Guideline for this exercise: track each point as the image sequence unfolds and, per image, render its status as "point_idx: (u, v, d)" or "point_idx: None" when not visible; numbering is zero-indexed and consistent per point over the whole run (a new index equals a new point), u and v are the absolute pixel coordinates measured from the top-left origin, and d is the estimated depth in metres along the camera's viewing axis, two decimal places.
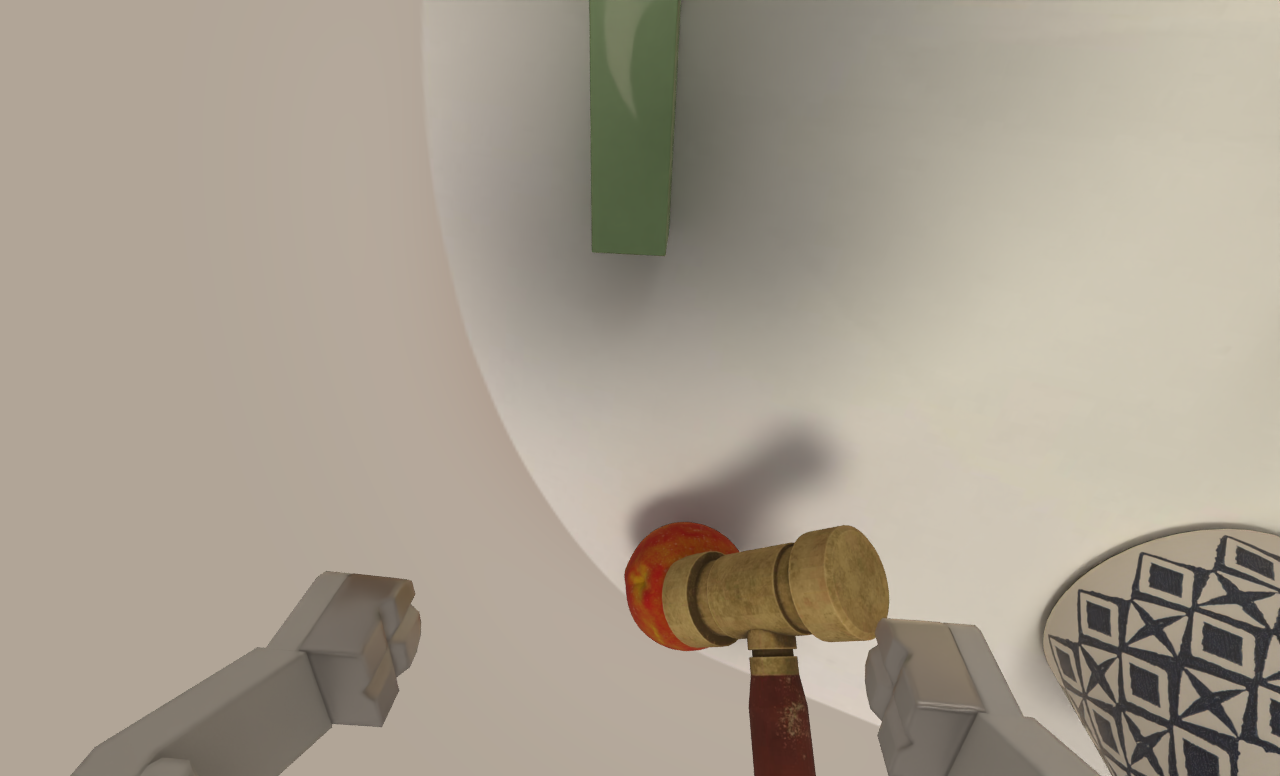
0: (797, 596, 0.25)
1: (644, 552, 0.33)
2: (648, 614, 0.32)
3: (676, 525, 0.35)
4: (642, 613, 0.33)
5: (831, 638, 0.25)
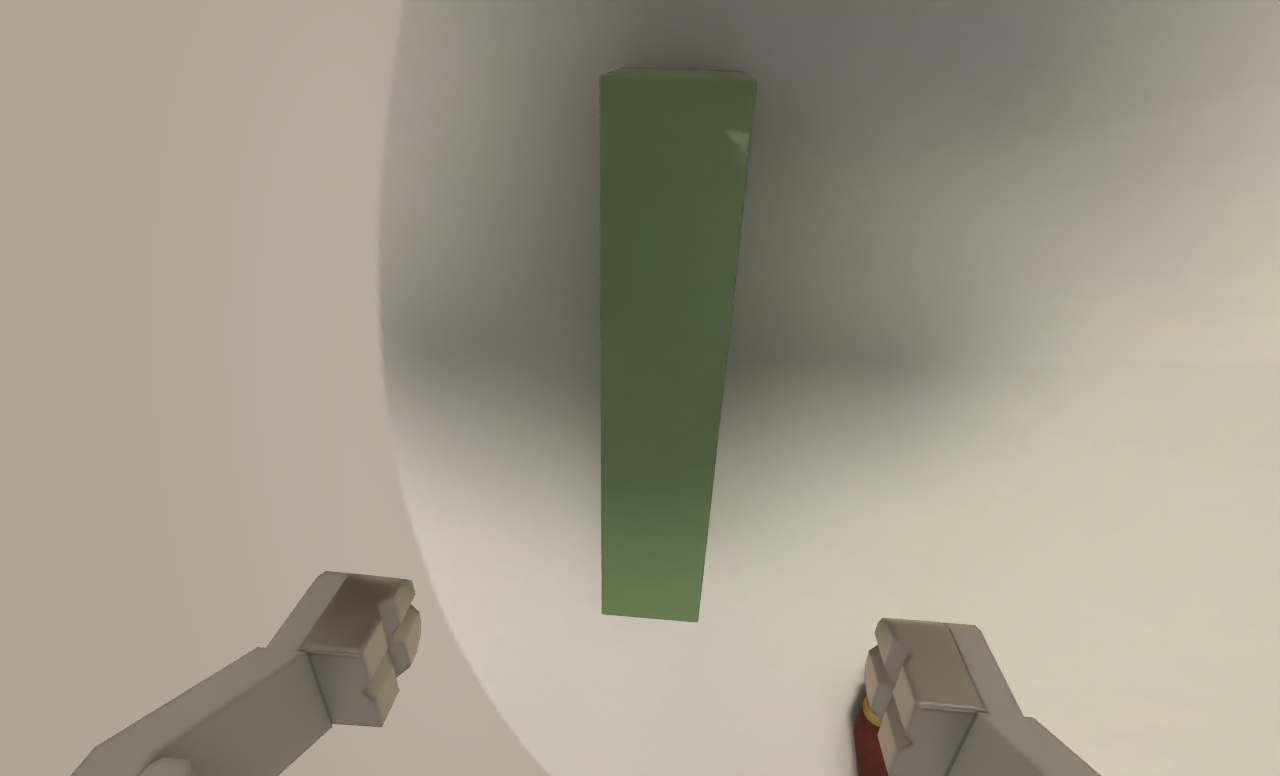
0: None
1: None
2: None
3: None
4: None
5: None
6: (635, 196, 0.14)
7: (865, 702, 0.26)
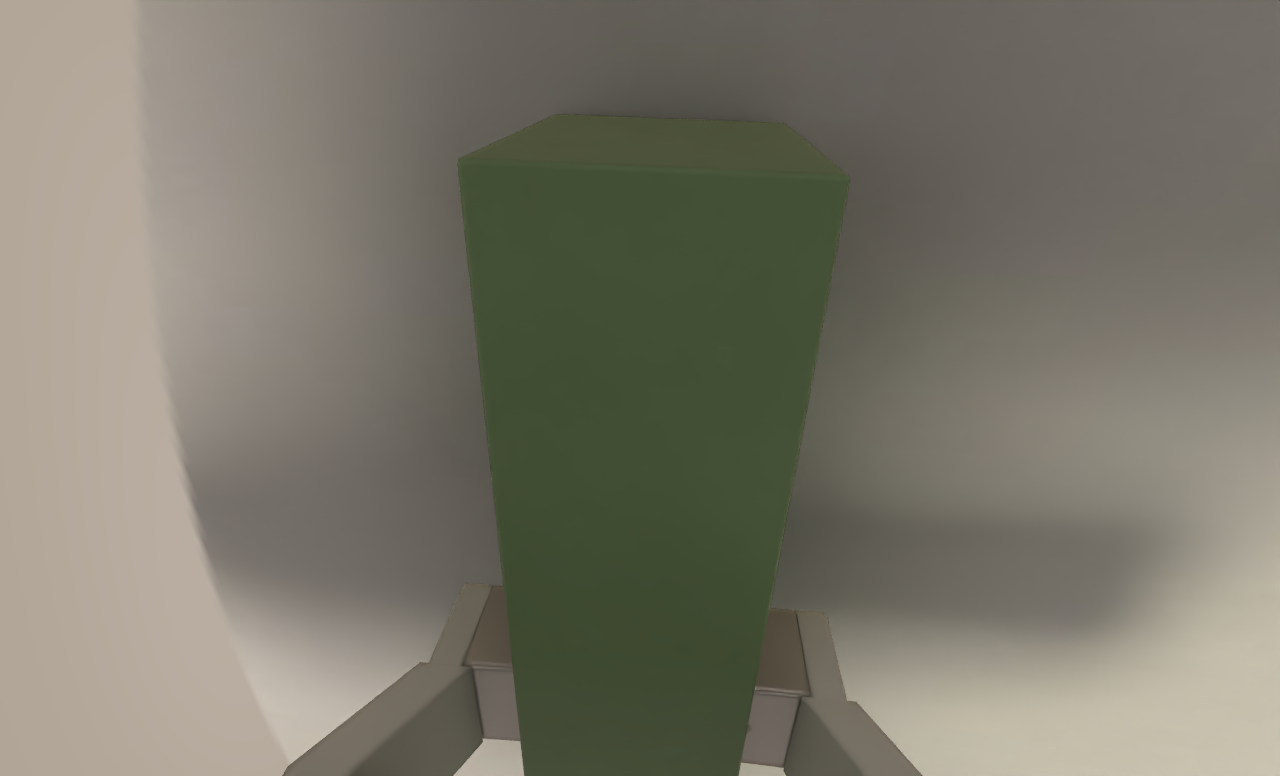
0: None
1: None
2: None
3: None
4: None
5: None
6: (560, 413, 0.06)
7: None
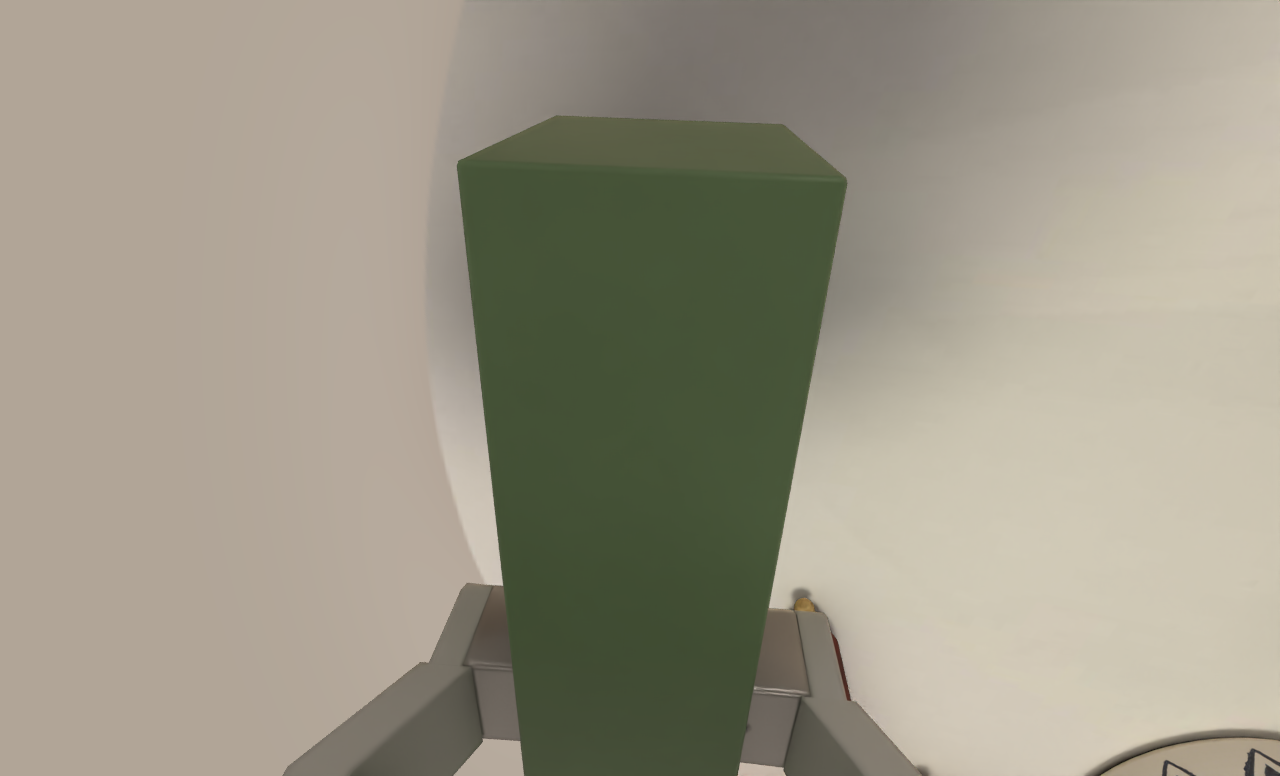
0: None
1: None
2: None
3: None
4: None
5: None
6: (559, 413, 0.06)
7: None
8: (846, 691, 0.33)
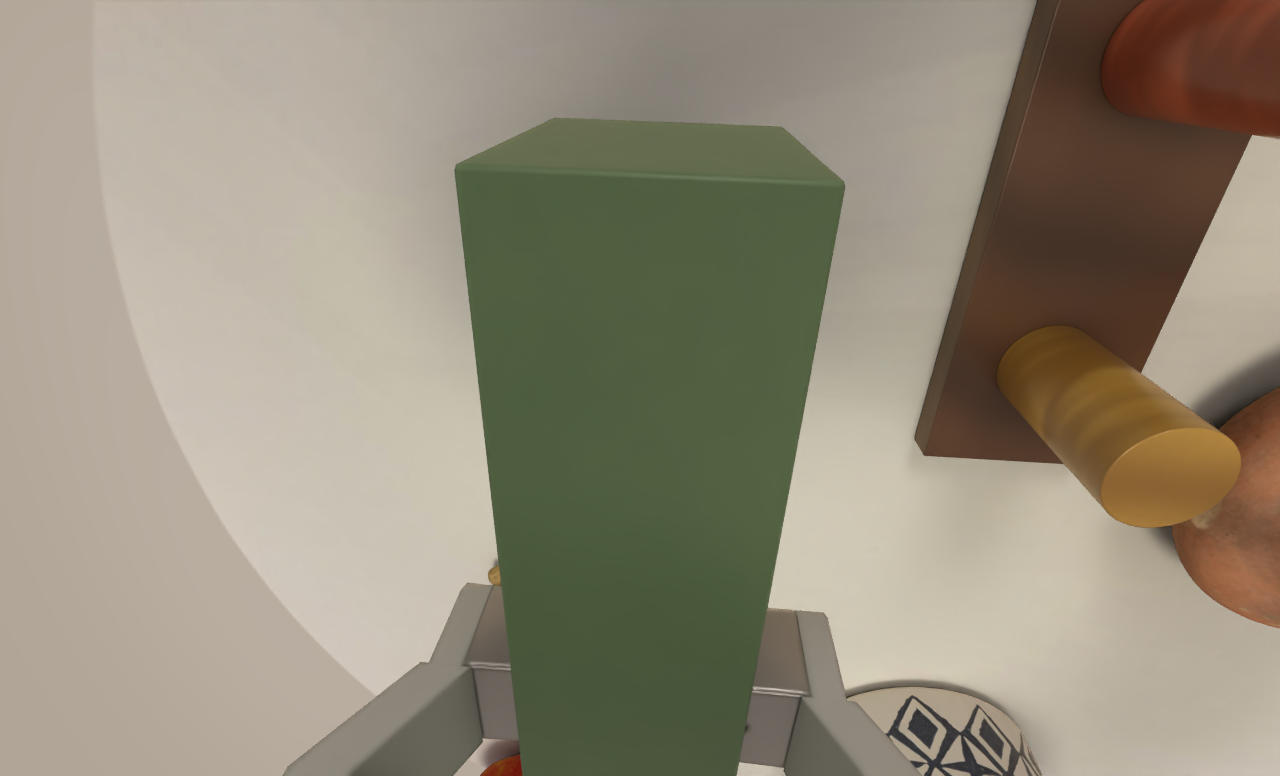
0: None
1: None
2: None
3: None
4: None
5: None
6: (557, 416, 0.06)
7: None
8: None
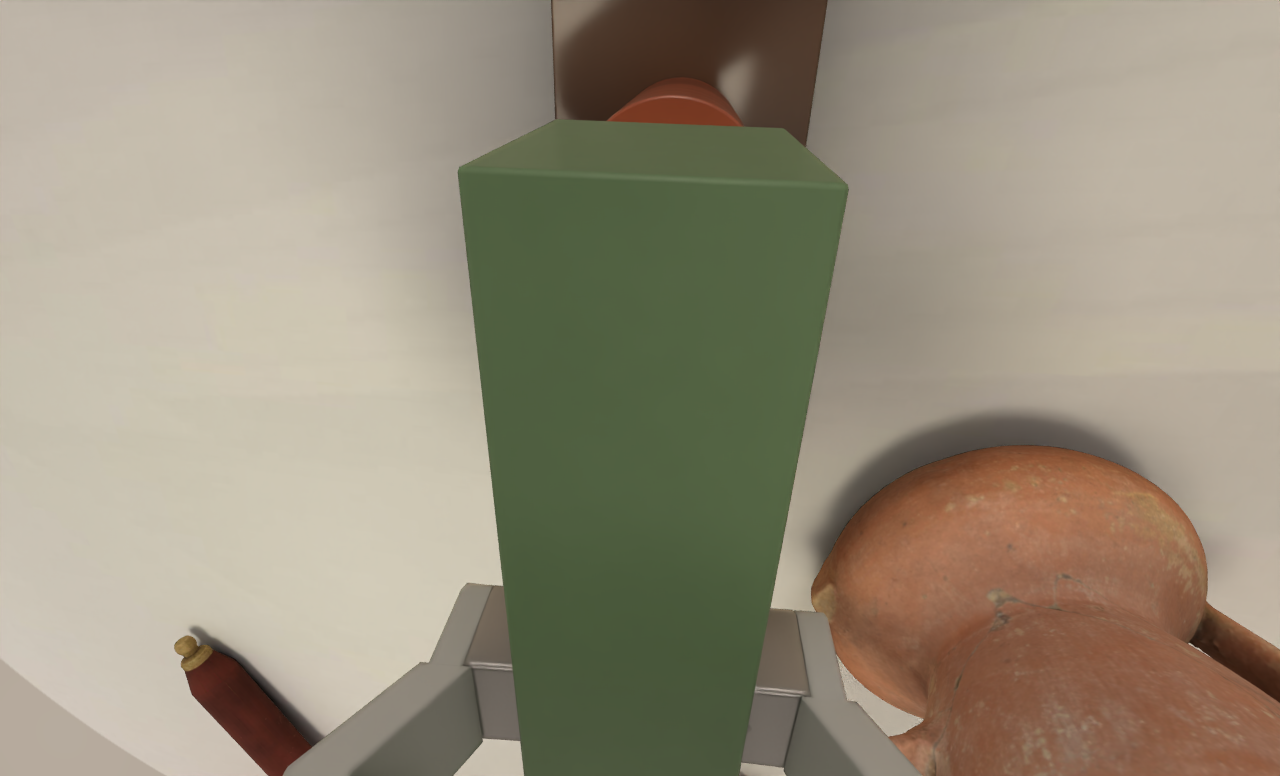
0: None
1: None
2: None
3: None
4: None
5: None
6: (559, 419, 0.06)
7: None
8: (252, 714, 0.37)
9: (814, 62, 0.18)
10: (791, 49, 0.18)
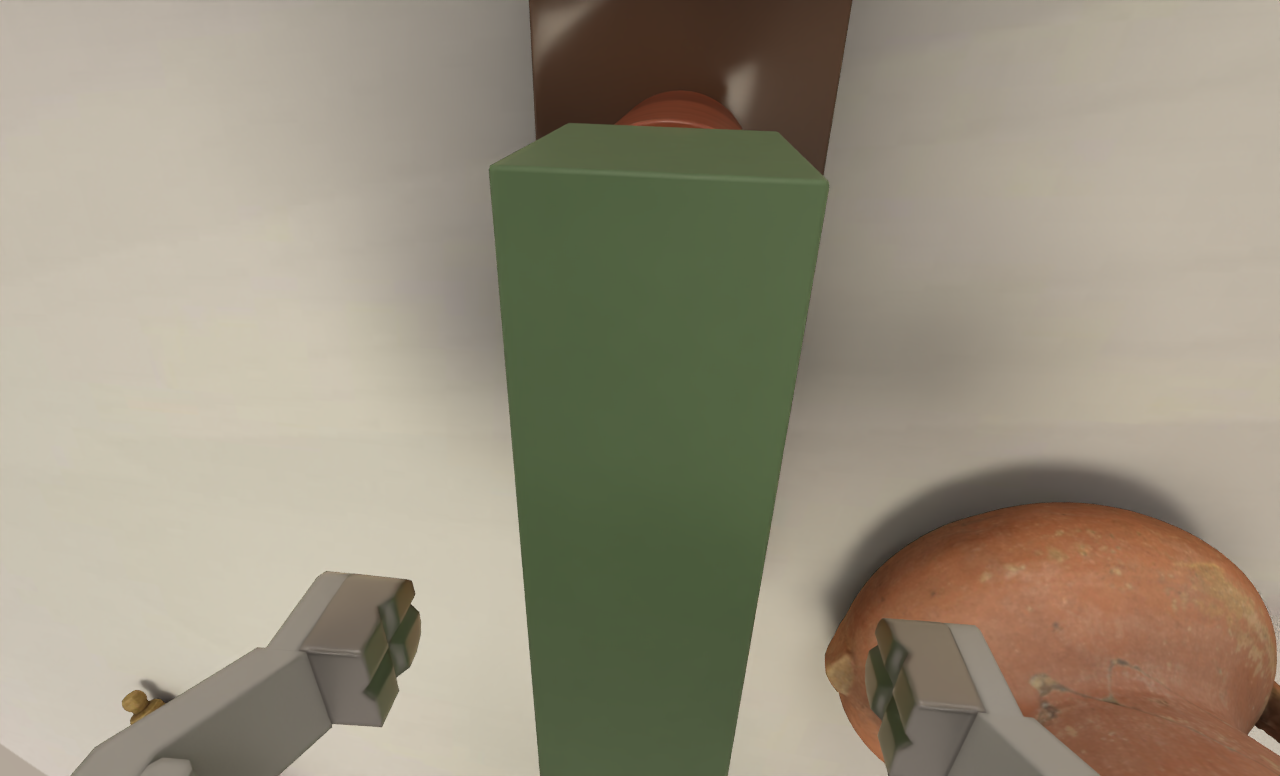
0: None
1: None
2: None
3: None
4: None
5: None
6: (575, 390, 0.07)
7: None
8: None
9: (835, 73, 0.16)
10: (808, 58, 0.16)
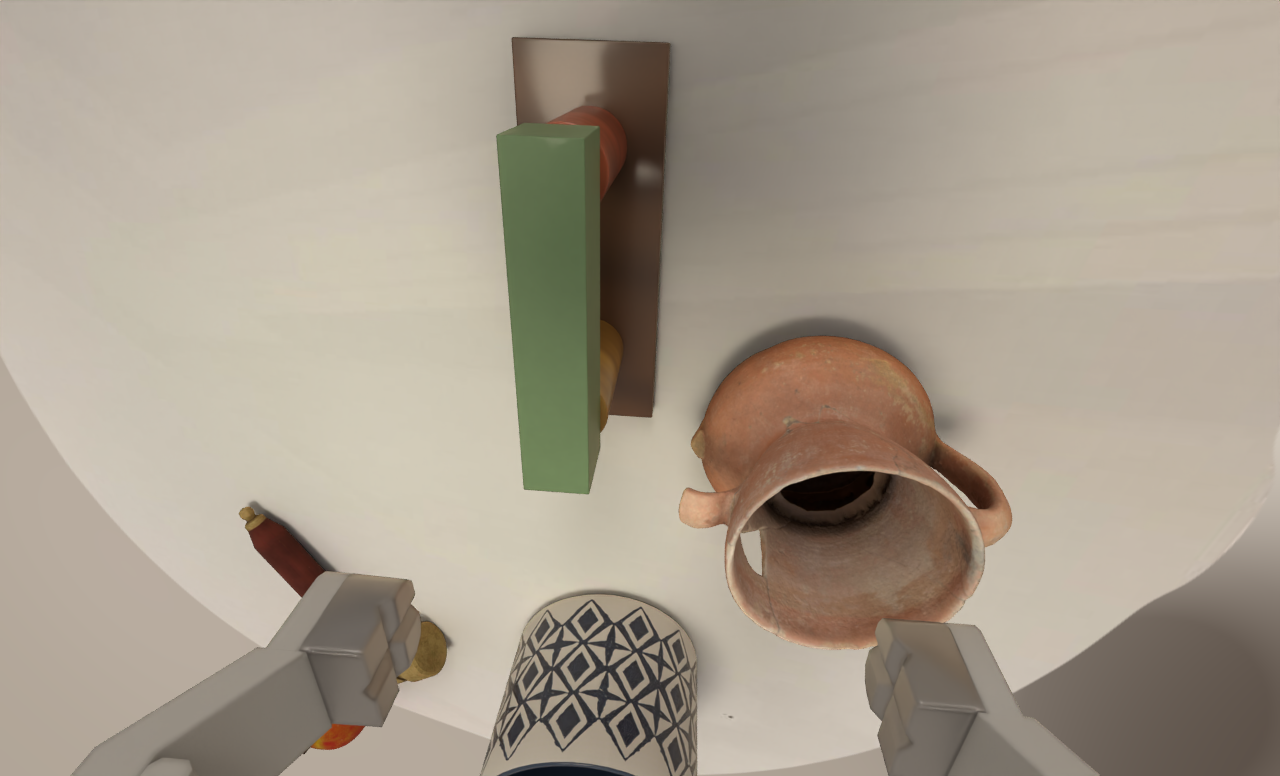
0: None
1: None
2: None
3: None
4: None
5: None
6: (522, 203, 0.23)
7: None
8: (299, 563, 0.50)
9: (664, 97, 0.32)
10: (650, 90, 0.32)
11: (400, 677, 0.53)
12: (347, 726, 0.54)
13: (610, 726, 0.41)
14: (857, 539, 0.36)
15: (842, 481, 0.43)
